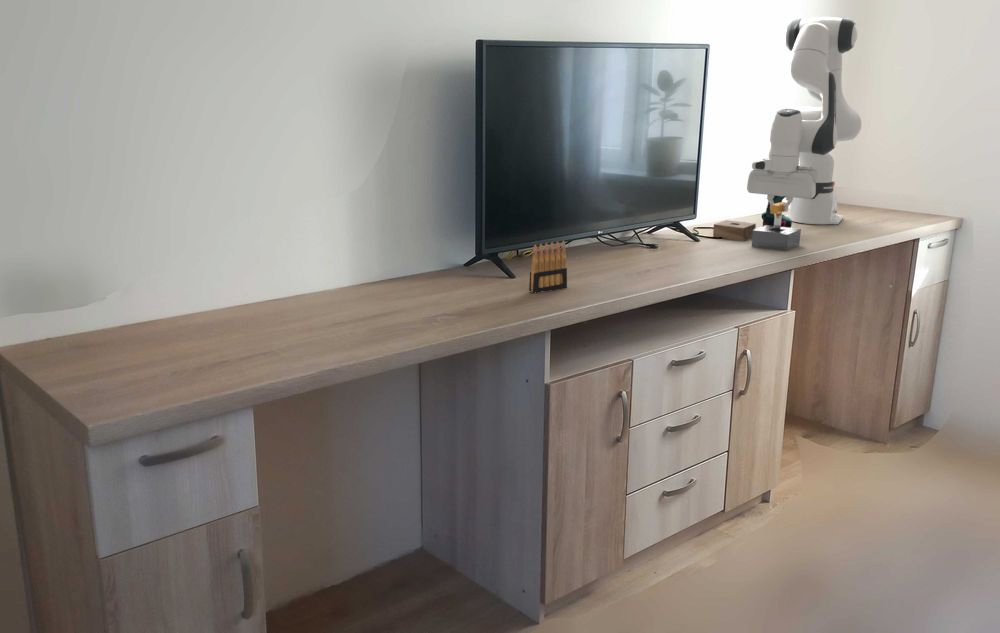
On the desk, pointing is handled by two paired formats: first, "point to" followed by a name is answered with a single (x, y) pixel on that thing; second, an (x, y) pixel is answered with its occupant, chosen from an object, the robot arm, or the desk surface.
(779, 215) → the block
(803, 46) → the robot arm
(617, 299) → the desk surface
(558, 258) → the ammunition clip
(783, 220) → the power drill
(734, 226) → the wooden square hole block
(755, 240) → the block
